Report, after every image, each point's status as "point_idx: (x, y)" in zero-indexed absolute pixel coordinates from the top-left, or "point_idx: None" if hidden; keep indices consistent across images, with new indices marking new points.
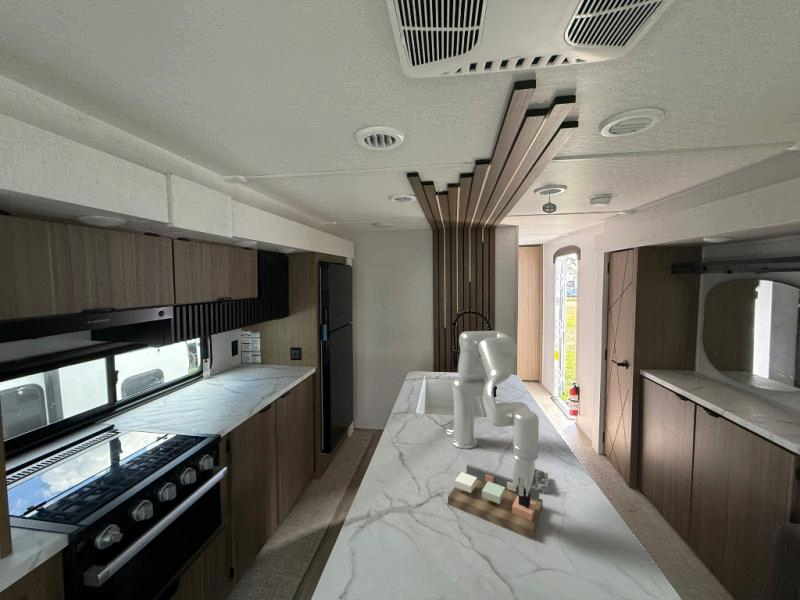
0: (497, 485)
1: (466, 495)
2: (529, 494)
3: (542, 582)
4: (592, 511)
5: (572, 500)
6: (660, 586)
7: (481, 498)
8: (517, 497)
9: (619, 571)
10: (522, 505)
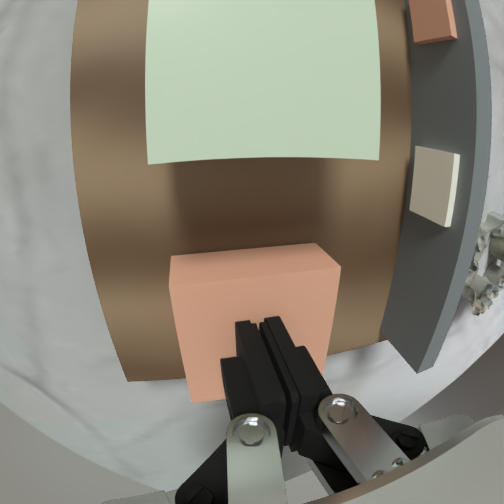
0: (366, 73)
1: None
2: (291, 447)
3: (10, 392)
4: (396, 404)
5: None
6: None
7: None
8: (321, 279)
9: None
10: (236, 344)
